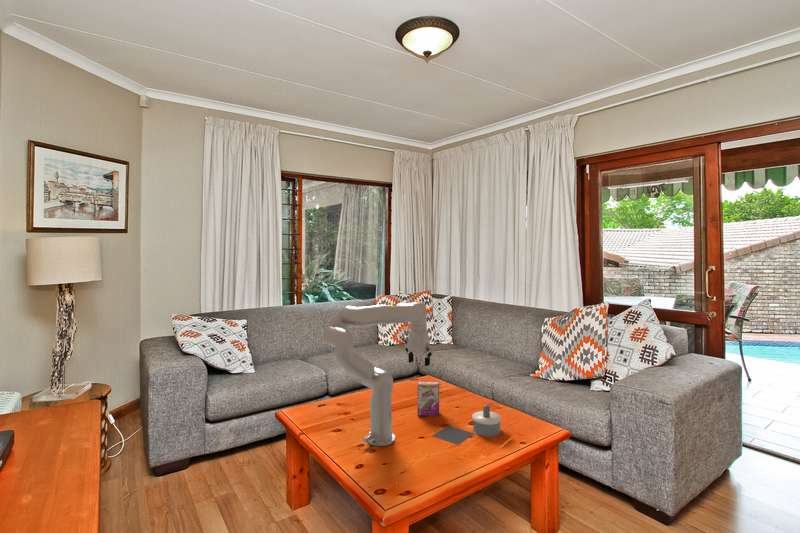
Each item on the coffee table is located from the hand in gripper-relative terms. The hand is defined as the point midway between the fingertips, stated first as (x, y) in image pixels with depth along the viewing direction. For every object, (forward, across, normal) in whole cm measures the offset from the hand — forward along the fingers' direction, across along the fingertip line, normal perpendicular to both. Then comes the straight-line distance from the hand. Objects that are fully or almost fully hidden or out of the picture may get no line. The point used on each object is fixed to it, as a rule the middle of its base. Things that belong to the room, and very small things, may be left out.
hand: (419, 363), depth 197 cm
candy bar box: (+31, -5, +14) cm, 34 cm away
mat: (+30, +18, +1) cm, 35 cm away
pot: (+30, +28, +14) cm, 44 cm away
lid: (+24, +28, +14) cm, 40 cm away
